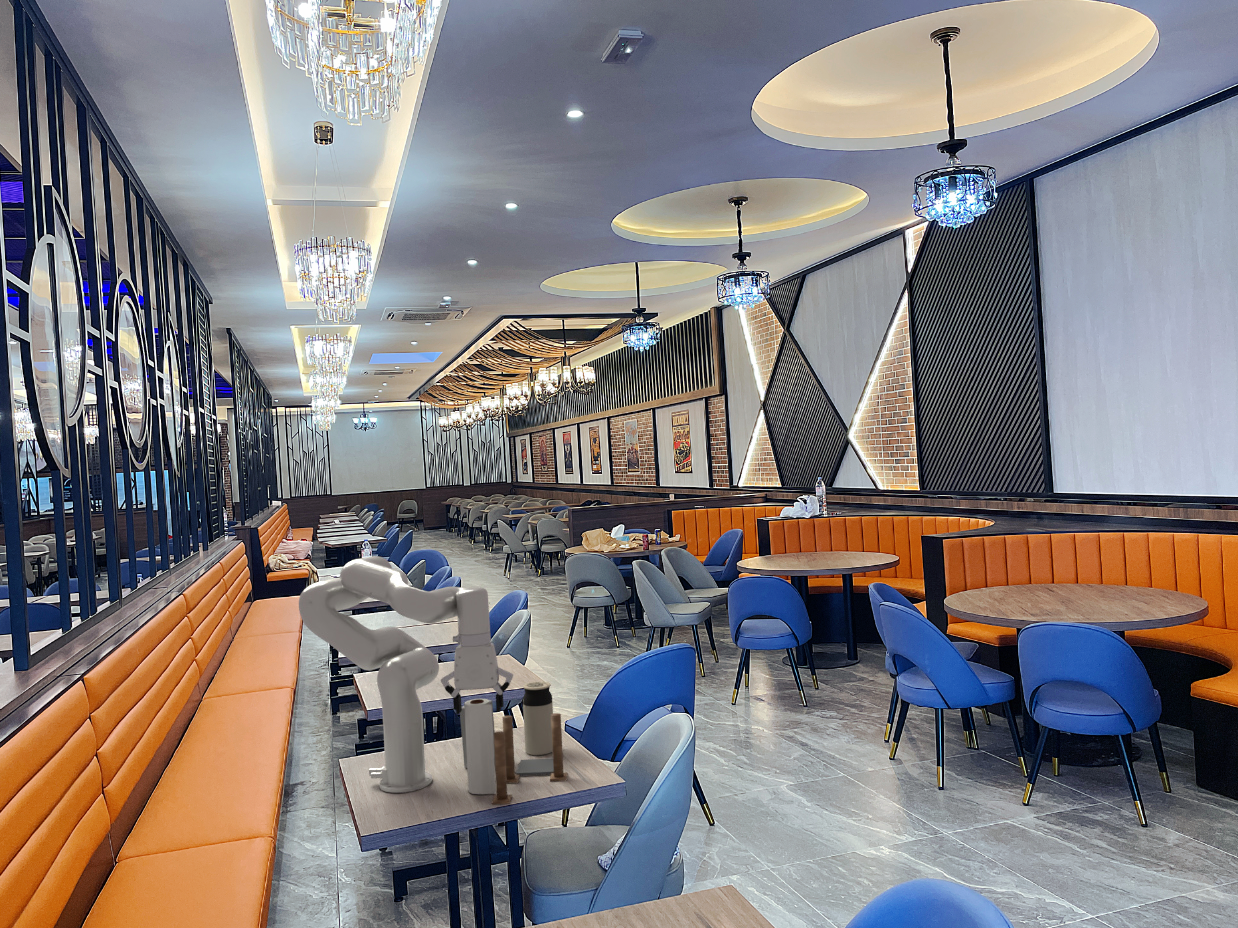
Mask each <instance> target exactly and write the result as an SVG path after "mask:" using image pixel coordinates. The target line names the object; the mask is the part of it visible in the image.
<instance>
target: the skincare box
mask: <svg viewBox="0 0 1238 928" xmlns="http://www.w3.org/2000/svg"><path fill="white" fill-rule="evenodd" d="M488 700H489V701H490V705H492V722H493V743H494V733H495V732H496V730H495V719H494V710H493V709H494V708H493V700H491V699H488ZM459 715H460V716H459V717H460V718H459V719H460V729H461V741H462V742H461V743H462V753H463V754H462V755H463V766H464V768H465V769H467V751H466V729H465V708H464V705H463V706H462V711H461V712H460V714H459ZM494 762H495V747H494Z"/></svg>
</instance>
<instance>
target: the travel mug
mask: <svg viewBox="0 0 1238 928" xmlns="http://www.w3.org/2000/svg"><path fill="white" fill-rule="evenodd" d="M551 684H552V683H550V682H548V681H532V682H527V683H524V684H523V685H522V688H523V689H524V694H523V697H522V711H523V713H522V714H523V727H524V729H523V730H524V731H523V732H524V750H525V753H526V754H528V755H532V756H543V755H548V754H550V753H553V747H552V726H551V714H554V708H553V707H554V705H553V703H554V702H553V694H552V693H551V691H550V688H551V686H552V685H551Z"/></svg>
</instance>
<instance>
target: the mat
mask: <svg viewBox="0 0 1238 928" xmlns="http://www.w3.org/2000/svg"><path fill="white" fill-rule="evenodd" d="M551 773H554V768H553V757H552V758H533V759H531V758H530V759H520V762H519V764H518V766H517V769H516V770H515V775H519V776H520V777H533V776H535V777H536V776H551Z"/></svg>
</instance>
